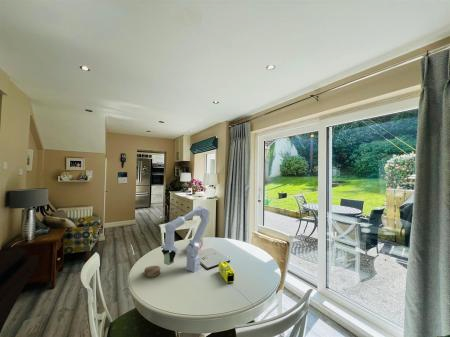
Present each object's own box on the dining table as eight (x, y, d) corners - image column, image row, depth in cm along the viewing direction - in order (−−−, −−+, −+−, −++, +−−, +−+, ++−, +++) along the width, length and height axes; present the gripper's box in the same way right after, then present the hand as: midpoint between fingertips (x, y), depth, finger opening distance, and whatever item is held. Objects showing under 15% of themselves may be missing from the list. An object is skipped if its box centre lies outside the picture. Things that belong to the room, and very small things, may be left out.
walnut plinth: (163, 272, 136) (163, 268, 136) (150, 279, 127) (151, 274, 127) (153, 268, 141) (153, 264, 141) (140, 274, 133) (141, 270, 133)
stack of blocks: (196, 244, 187) (196, 231, 187) (202, 245, 186) (203, 232, 186) (189, 254, 166) (189, 239, 166) (196, 255, 165) (196, 240, 165)
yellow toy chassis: (217, 271, 140) (218, 259, 140) (225, 270, 142) (225, 258, 142) (226, 284, 125) (226, 271, 125) (234, 282, 127) (235, 269, 127)
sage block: (173, 262, 136) (174, 253, 136) (168, 265, 132) (169, 256, 132) (169, 260, 138) (169, 252, 138) (164, 263, 135) (164, 254, 135)
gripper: (157, 240, 136) (157, 260, 136) (173, 244, 128) (172, 266, 128) (165, 237, 142) (165, 256, 142) (180, 241, 134) (180, 262, 134)
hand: (169, 260), depth 135 cm, fingers closed on sage block, 4 cm apart
